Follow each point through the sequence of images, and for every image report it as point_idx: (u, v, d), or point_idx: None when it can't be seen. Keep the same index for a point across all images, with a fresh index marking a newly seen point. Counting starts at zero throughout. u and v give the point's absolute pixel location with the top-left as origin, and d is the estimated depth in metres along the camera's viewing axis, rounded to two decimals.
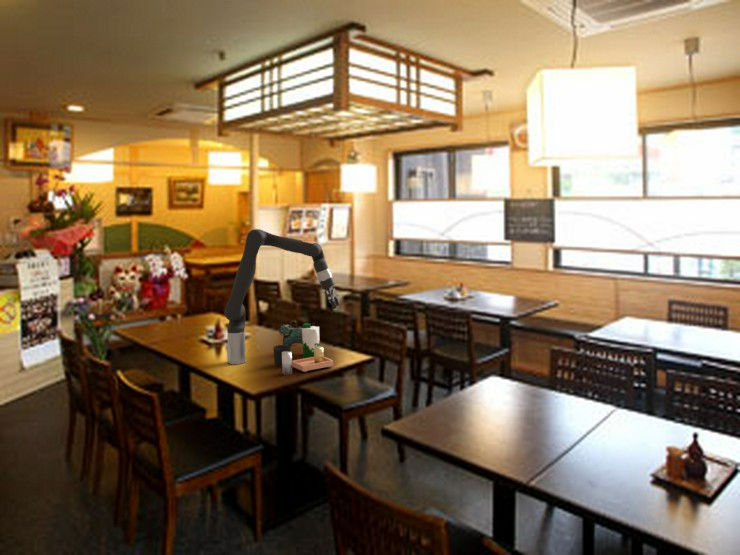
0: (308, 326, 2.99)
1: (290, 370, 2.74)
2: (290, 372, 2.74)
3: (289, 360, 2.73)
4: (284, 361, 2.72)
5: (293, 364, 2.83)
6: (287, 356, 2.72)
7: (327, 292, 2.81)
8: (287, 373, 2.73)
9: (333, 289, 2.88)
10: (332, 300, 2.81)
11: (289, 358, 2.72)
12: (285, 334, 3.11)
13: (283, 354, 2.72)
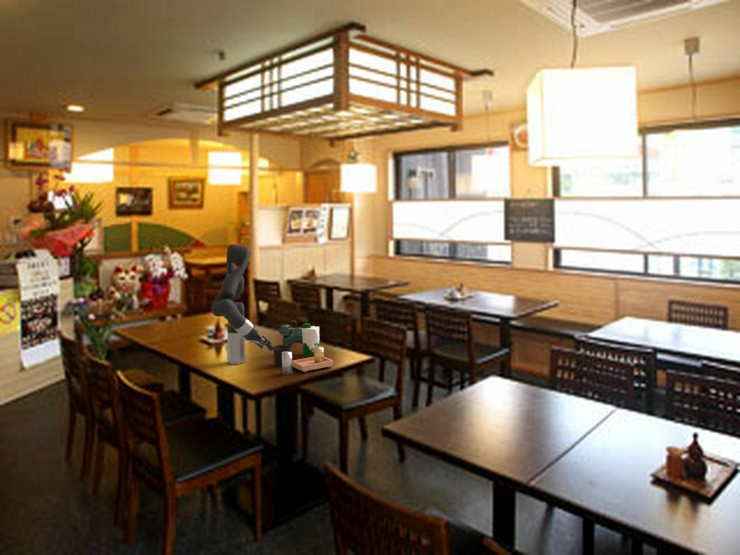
0: (308, 326, 2.99)
1: (290, 370, 2.74)
2: (290, 372, 2.74)
3: (289, 360, 2.73)
4: (284, 361, 2.72)
5: (293, 364, 2.83)
6: (287, 356, 2.72)
7: None
8: (287, 373, 2.73)
9: (254, 340, 2.59)
10: (252, 342, 2.67)
11: (289, 358, 2.73)
12: (285, 334, 3.11)
13: (283, 354, 2.72)
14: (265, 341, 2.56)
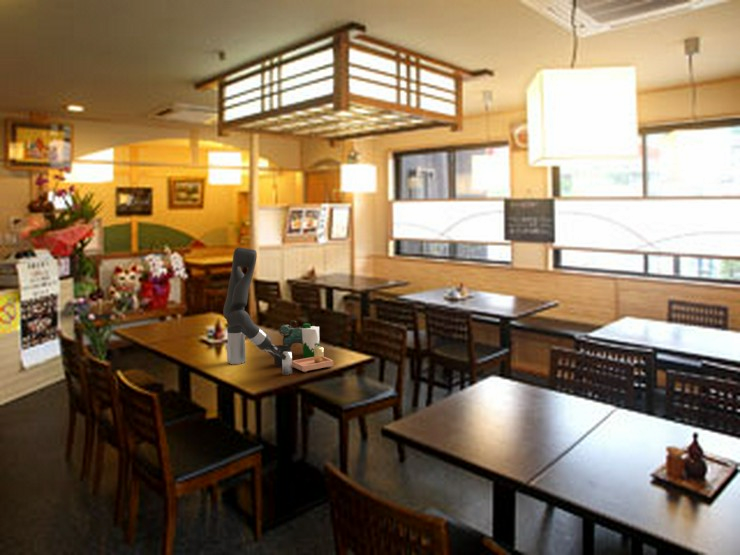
0: (308, 326, 2.99)
1: (290, 370, 2.74)
2: (290, 372, 2.74)
3: (289, 360, 2.73)
4: (284, 361, 2.72)
5: (293, 364, 2.83)
6: (287, 356, 2.72)
7: None
8: (287, 373, 2.73)
9: (267, 349, 2.65)
10: (265, 350, 2.73)
11: (289, 358, 2.73)
12: (285, 334, 3.11)
13: None
14: (278, 350, 2.62)
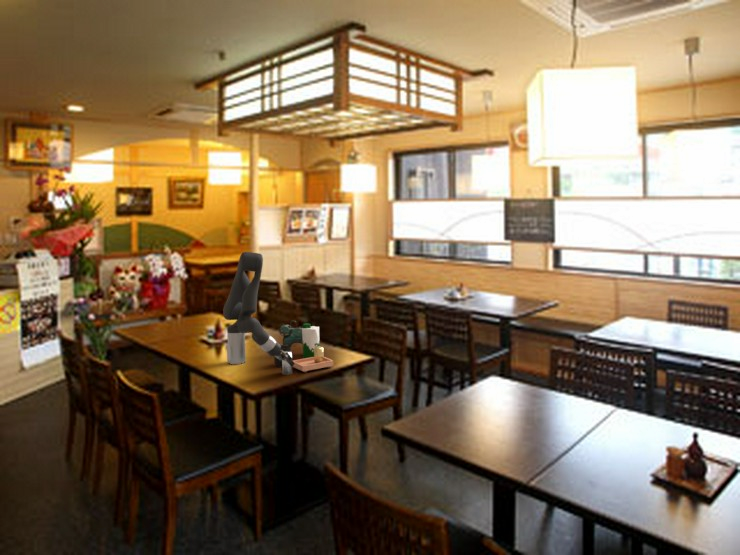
0: (308, 326, 2.99)
1: (290, 370, 2.74)
2: (290, 372, 2.74)
3: None
4: (284, 361, 2.72)
5: None
6: None
7: None
8: (287, 373, 2.73)
9: (276, 355, 2.69)
10: None
11: None
12: (285, 334, 3.11)
13: None
14: (288, 357, 2.67)
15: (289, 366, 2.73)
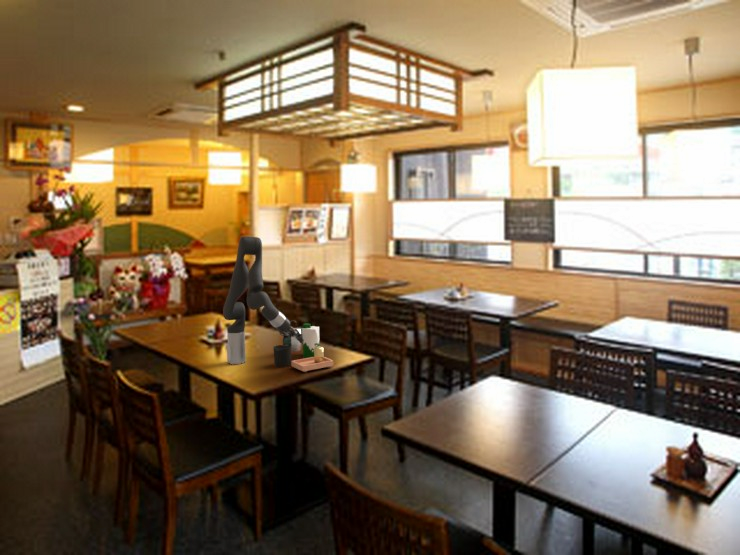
0: (308, 326, 2.99)
1: (299, 346, 2.76)
2: (299, 349, 2.76)
3: None
4: (293, 337, 2.74)
5: (293, 364, 2.83)
6: None
7: None
8: (296, 349, 2.75)
9: (286, 332, 2.71)
10: (286, 335, 2.79)
11: None
12: None
13: None
14: (297, 334, 2.69)
15: (298, 343, 2.75)
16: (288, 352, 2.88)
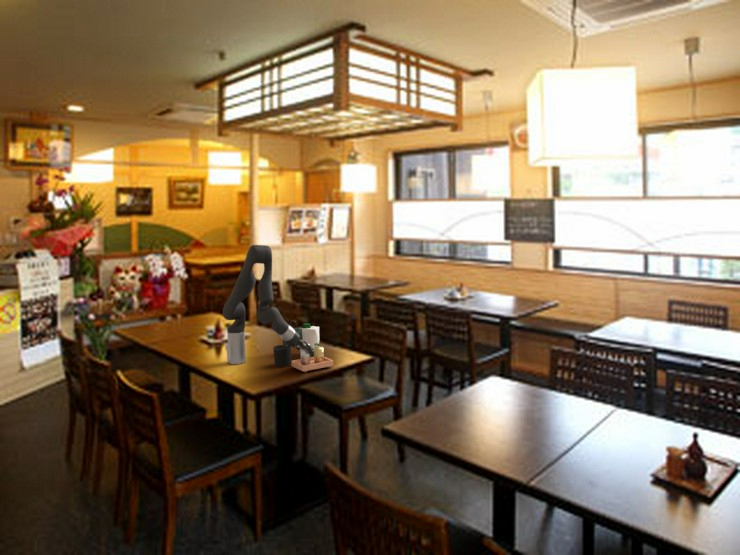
0: (308, 326, 2.99)
1: (308, 361, 2.80)
2: (308, 363, 2.80)
3: (307, 352, 2.79)
4: (302, 353, 2.79)
5: (293, 364, 2.83)
6: None
7: None
8: (305, 364, 2.80)
9: (295, 345, 2.76)
10: (293, 346, 2.84)
11: None
12: None
13: None
14: (306, 346, 2.73)
15: (307, 357, 2.80)
16: (288, 352, 2.88)
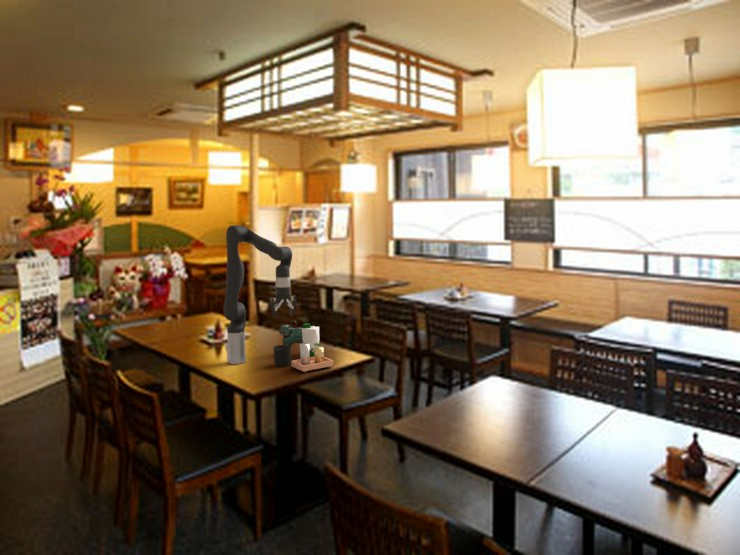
0: (308, 326, 2.99)
1: (308, 361, 2.80)
2: (308, 363, 2.80)
3: (307, 352, 2.79)
4: (302, 353, 2.79)
5: (293, 364, 2.83)
6: (305, 348, 2.78)
7: (270, 300, 2.73)
8: (305, 364, 2.79)
9: (286, 299, 2.76)
10: (271, 309, 2.73)
11: (307, 350, 2.79)
12: (285, 334, 3.11)
13: (301, 346, 2.79)
14: None
15: (307, 357, 2.80)
16: (288, 352, 2.88)
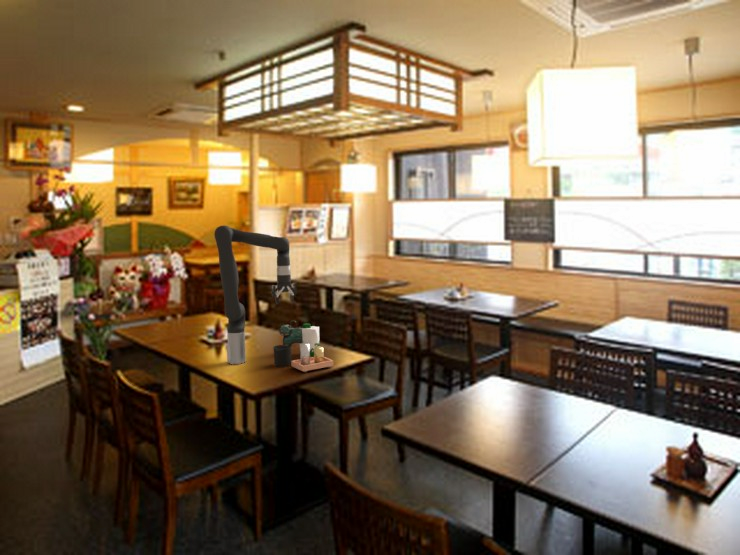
0: (308, 326, 2.99)
1: (308, 361, 2.80)
2: (308, 363, 2.80)
3: (307, 351, 2.80)
4: (302, 352, 2.79)
5: (293, 364, 2.83)
6: (305, 347, 2.79)
7: (272, 287, 2.93)
8: (305, 364, 2.80)
9: (286, 286, 2.95)
10: None
11: (307, 349, 2.79)
12: (285, 334, 3.11)
13: (301, 345, 2.79)
14: None
15: (307, 357, 2.80)
16: (288, 352, 2.88)
